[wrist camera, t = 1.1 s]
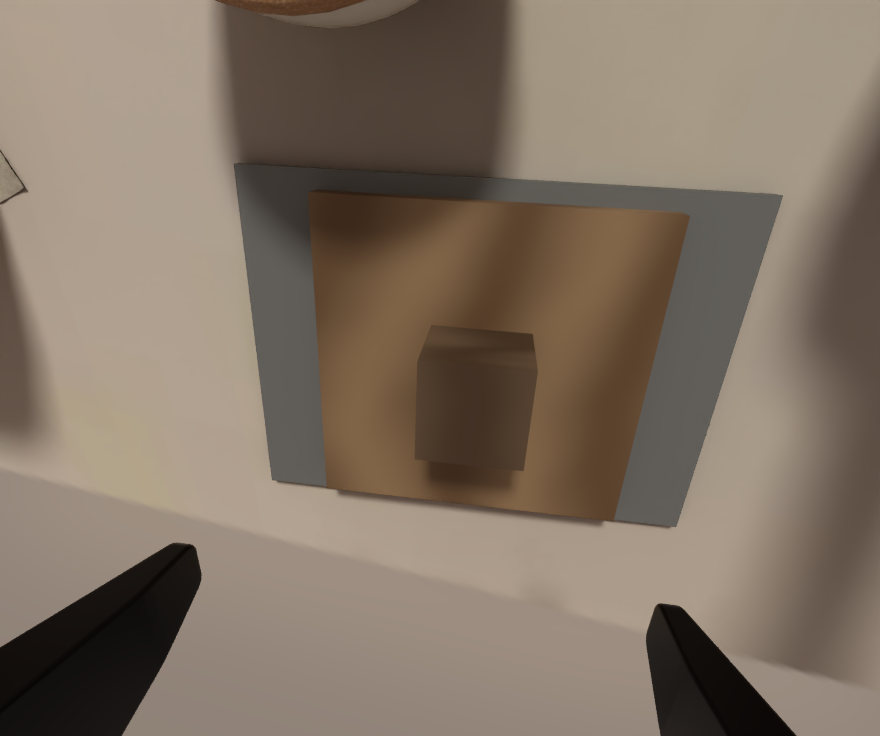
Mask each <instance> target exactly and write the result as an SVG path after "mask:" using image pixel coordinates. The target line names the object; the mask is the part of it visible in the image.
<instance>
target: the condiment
mask: <svg viewBox="0 0 880 736" xmlns="http://www.w3.org/2000/svg"><path fill="white" fill-rule="evenodd" d="M22 188H24V187H23V186H22V184H21V182H20V181H19V179H18V177H17V176H16V175H15V174H14V172H13V170H12V169H11V168H10V166H9V165H8V163H7V162H6V161H5V158H4V156H3V155H2V153H1V152H0V202H2V201H3V200H5V199H7V198H9V197H11V196H12V195H14V194H15V193H17V192H19V191H20V190H21V189H22Z"/></svg>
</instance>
